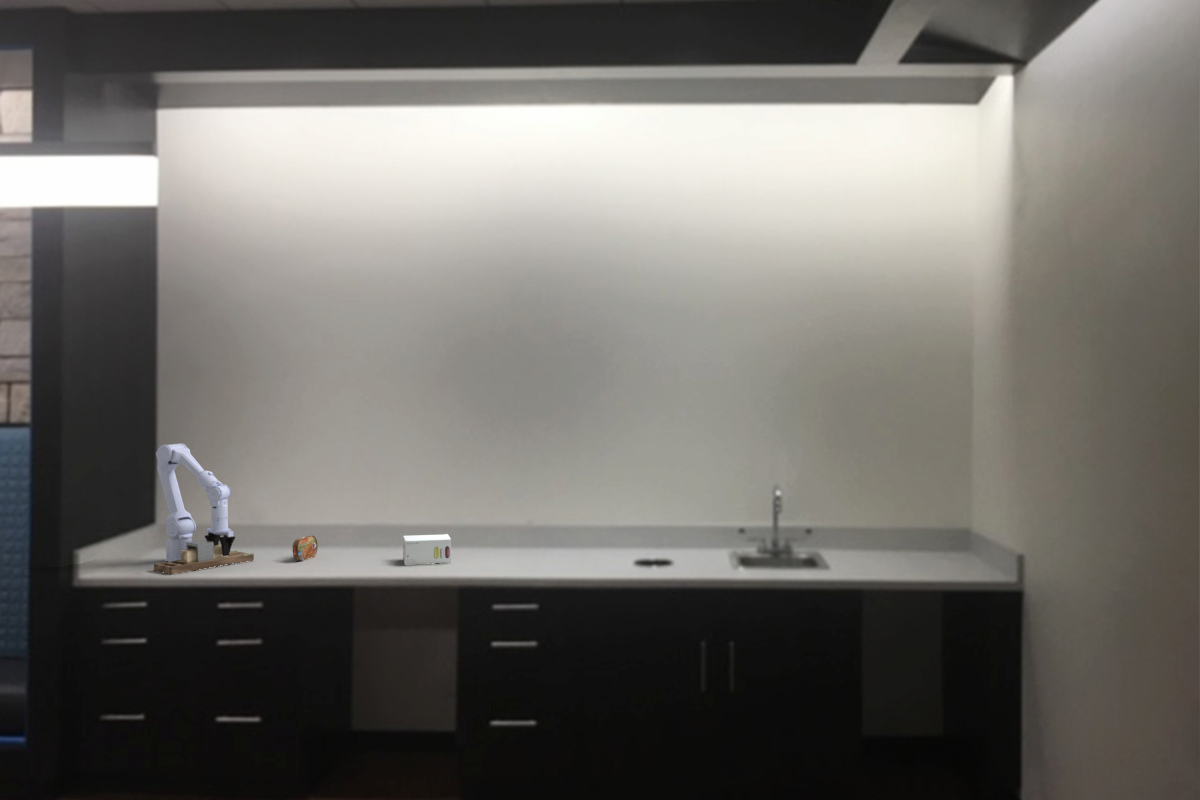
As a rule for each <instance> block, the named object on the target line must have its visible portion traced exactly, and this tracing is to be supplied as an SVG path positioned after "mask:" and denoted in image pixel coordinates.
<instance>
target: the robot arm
mask: <svg viewBox="0 0 1200 800" xmlns="http://www.w3.org/2000/svg"><path fill="white" fill-rule="evenodd" d="M155 456H156V460H157V467H156V469H157V473H158V476H159V480H160V484H161V487H162V492H163V494H164V495H163V496H164V498H165V503H166V506H167V509H168V513H169V514H168V516H167V517H166V519H165V524H166V526H165V533H166V534H167V536H168V537H169V538H168V539H167V541H166V544H165V546H166V547H165V552H166V553H165V555H166V558H165V559H164V560H163V561H164V562H167V561H168V562H170V561H176V560H181V551H182V550H186V542H190V541H193V539H192V537H193V536H194V535H193V534H194V533H195V532H196V530H197V525H196V522H195V520H194V519H193V517H192V514H191V512H188V511H187V510H186V509H185V505H184V502H183V498H182V494H181V490H180V487H179V486H180V485H179V482H178V480H177V475H176V472H175V470H176V468H177V467H178V466H179V465H180V464H182V465H183V466H184V467H186V468H187V469H188V470H189V471H190V472H191V473H192V474H193V475H194V476H195V477H196V482H197V483H198V484H199V486H200V487H202V489H203V490H204V491H205V492H206V493H207V494H206V496H207V499H208V500H209V505H210V509H211V510H210V513H211V514H210V515H211V517H210V518H211V520H210V521H211V523H210V524H211V525H210V526H211V527H209V528H206V534H205V535H204V538H205V541H211V542H214V546H216V545H221V546H222V554H223V556H228V555H229V553H230V551H231V550H232V549H231V548H232V547H233V546H232V545H233V543H234V541H235V540H236V536H235V535H234V530H232V529H231V528H229V508H228V506H229V504H228V503H229V502H228V500H229V499H230V497H231V495H232V491H231V490H232V489H231V488H230V487H229V485H227V484H226V483H225V484H223V483H222V482H221V481H219V480H218V479H217V477H216V476H215V475H214V473H213V472H212V471H209V470H204V468H203V467H202V465H200V463H199V462H198V461H197V460H196V459H195V457H194V456H193V455H192V454H191V449H190V448H189V447H187V445H186V444H185V443H181V442H180V443H179V442H178V443H172V444H161V445H160V446H159V447H158V449H157V451H156V452H155ZM219 543H220V544H219Z"/></svg>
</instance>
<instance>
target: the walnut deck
mask: <svg viewBox="0 0 1200 800" xmlns="http://www.w3.org/2000/svg"><path fill="white" fill-rule="evenodd" d="M254 556H255V555H254V553H253V552H252V553H251V552H250V553H248V552H241V551H238V550H230V553H229V555H228V556H227V557H221V558H215V559H214V560H209V561H203V562H197V561H196V562H190V563H185V562H181V560H176V561H170V562H167V561H164V562H159V563H157V562H156V563H154V564H153V572H157V571H159V572H158V573H161V572H164V573H163V574H166V573H169V574H168V575H171V574H174V575H176V574H175V573H180V574H183V573H182V572H186V573H189V572H188V571H192V572H195V571H194V570H198V571H200V570H199V569H204V568H209V567H214V566H220V565H225V564H232V563H239V564H241V563H240V562H245V563H247V562H246V561H251V562H254V561H255V560H254V559H255V557H254ZM253 560H254V561H253ZM204 570H205V569H204Z"/></svg>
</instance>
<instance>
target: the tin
mask: <svg viewBox="0 0 1200 800" xmlns="http://www.w3.org/2000/svg"><path fill="white" fill-rule="evenodd" d="M318 545H319V544H318V540H317V538H316V536H314V535H313V534H311V535H306V536H305V535H304V536H303V537H301V538H298V539H297V538H296V539H295V540H294V541H293V543H292V555H293V559H294V560H295V561H297V562H298V561H299V562H304V561H303V560H305V561H307V560H309V559H308V558H310V559H312V558H311V557H313V558H315V557H316V555H317V553H318ZM306 559H307V560H306Z"/></svg>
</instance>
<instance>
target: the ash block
mask: <svg viewBox="0 0 1200 800" xmlns="http://www.w3.org/2000/svg"><path fill="white" fill-rule="evenodd" d="M221 557H227V556H223V554H222V546H221V544H218V545H216V546H214V559H215V558H221ZM196 561H197V548H196V549H189V550H182V551H181V562H185V563H190V562H196Z"/></svg>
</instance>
